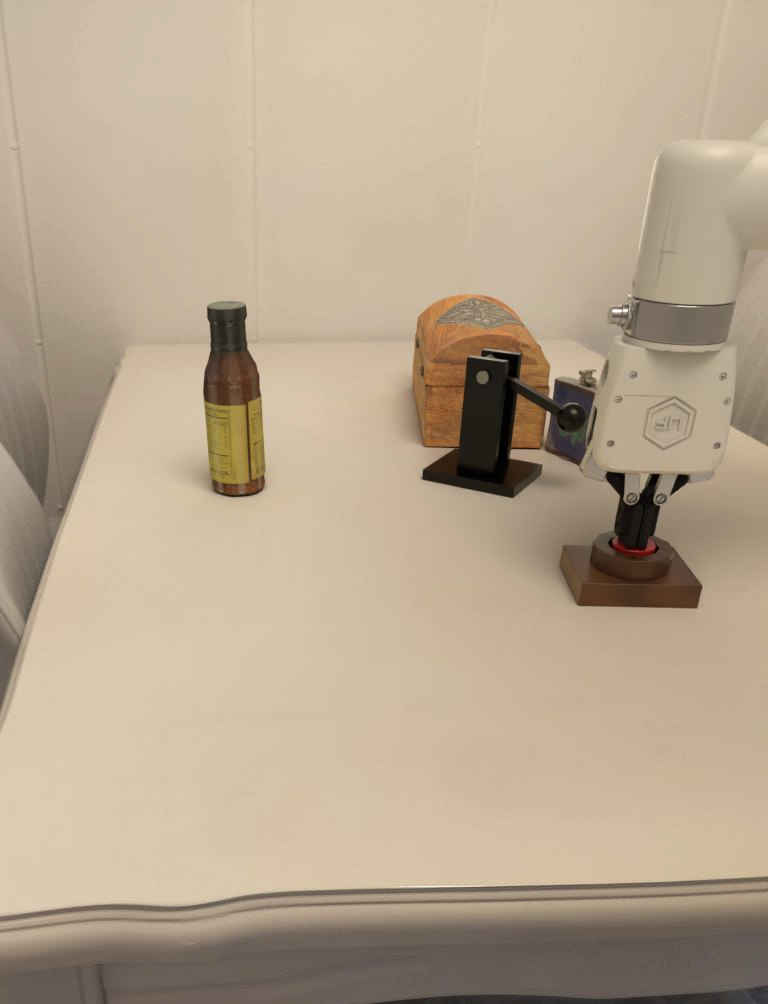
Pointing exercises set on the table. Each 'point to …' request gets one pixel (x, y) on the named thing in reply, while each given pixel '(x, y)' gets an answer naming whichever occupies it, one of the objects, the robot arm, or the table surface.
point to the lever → (550, 405)
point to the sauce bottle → (233, 404)
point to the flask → (563, 394)
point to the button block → (628, 576)
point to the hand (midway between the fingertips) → (631, 542)
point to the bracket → (486, 432)
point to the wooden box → (443, 357)
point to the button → (635, 551)
